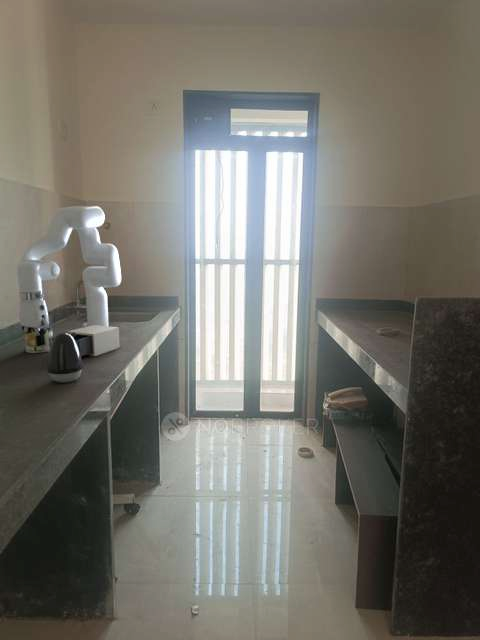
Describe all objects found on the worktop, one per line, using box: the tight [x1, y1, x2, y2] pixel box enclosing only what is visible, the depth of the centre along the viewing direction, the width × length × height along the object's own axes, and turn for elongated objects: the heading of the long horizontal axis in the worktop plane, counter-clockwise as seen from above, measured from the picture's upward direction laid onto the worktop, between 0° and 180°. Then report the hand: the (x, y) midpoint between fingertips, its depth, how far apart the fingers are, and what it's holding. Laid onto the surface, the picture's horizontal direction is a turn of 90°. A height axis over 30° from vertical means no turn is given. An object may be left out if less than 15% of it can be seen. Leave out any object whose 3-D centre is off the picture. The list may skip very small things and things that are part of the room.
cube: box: [24, 332, 45, 347], centre depth 154 cm, size 4×4×4 cm
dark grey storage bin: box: [44, 334, 93, 357], centre depth 155 cm, size 19×11×7 cm, turn 157°
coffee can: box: [24, 313, 54, 354], centre depth 165 cm, size 10×10×14 cm
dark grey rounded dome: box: [46, 332, 84, 384], centre depth 129 cm, size 10×10×15 cm
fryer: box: [67, 325, 121, 357], centre depth 166 cm, size 15×13×9 cm
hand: (35, 344), depth 155 cm, fingers closed on cube, 4 cm apart
